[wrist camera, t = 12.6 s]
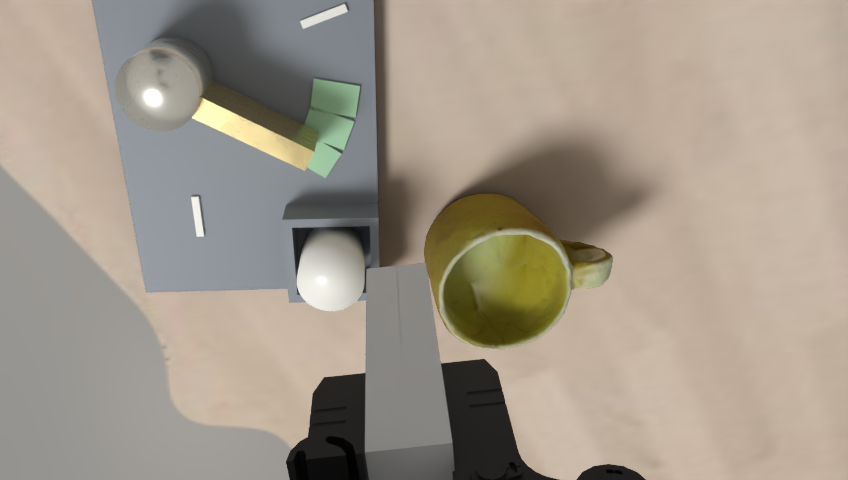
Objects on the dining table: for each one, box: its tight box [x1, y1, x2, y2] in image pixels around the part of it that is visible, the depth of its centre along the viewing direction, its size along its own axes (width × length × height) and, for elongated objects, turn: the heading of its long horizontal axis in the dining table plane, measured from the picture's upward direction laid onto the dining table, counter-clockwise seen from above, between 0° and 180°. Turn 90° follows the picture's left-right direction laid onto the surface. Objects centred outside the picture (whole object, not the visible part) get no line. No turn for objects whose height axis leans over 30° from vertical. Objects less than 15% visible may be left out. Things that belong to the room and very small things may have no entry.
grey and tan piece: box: [115, 36, 319, 171], centre depth 45 cm, size 12×5×5 cm, turn 61°
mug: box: [424, 194, 613, 350], centre depth 51 cm, size 12×10×10 cm
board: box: [92, 0, 380, 303], centre depth 48 cm, size 24×17×4 cm
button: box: [297, 227, 365, 311], centre depth 49 cm, size 4×4×4 cm
